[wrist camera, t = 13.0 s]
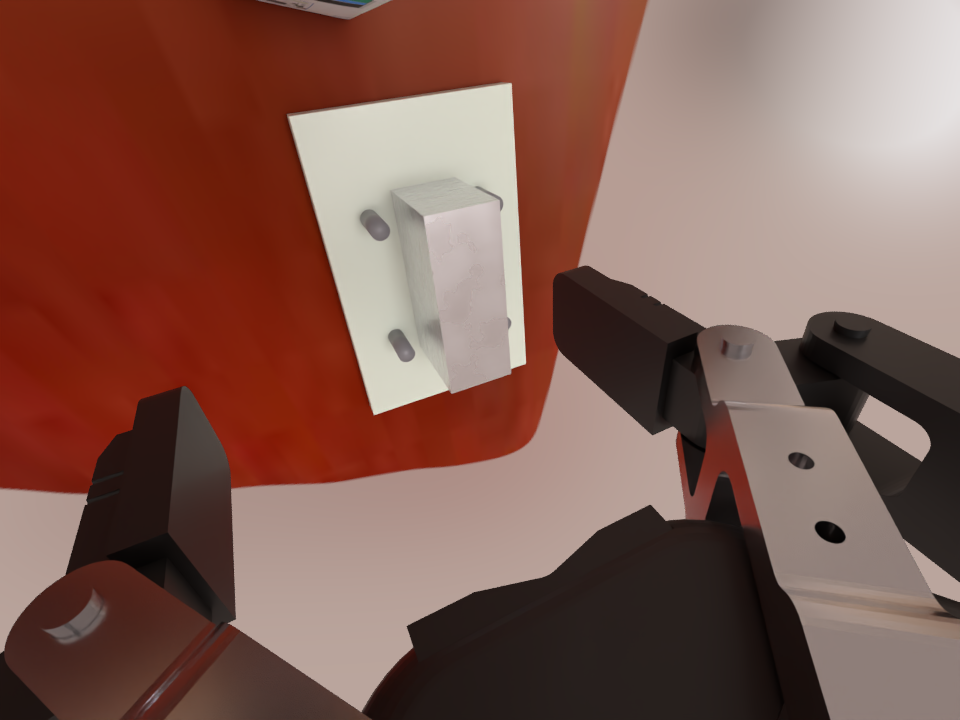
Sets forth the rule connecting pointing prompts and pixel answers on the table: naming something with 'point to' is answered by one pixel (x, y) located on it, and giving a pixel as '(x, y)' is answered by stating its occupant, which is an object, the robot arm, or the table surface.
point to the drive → (455, 279)
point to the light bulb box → (331, 6)
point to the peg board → (372, 224)
